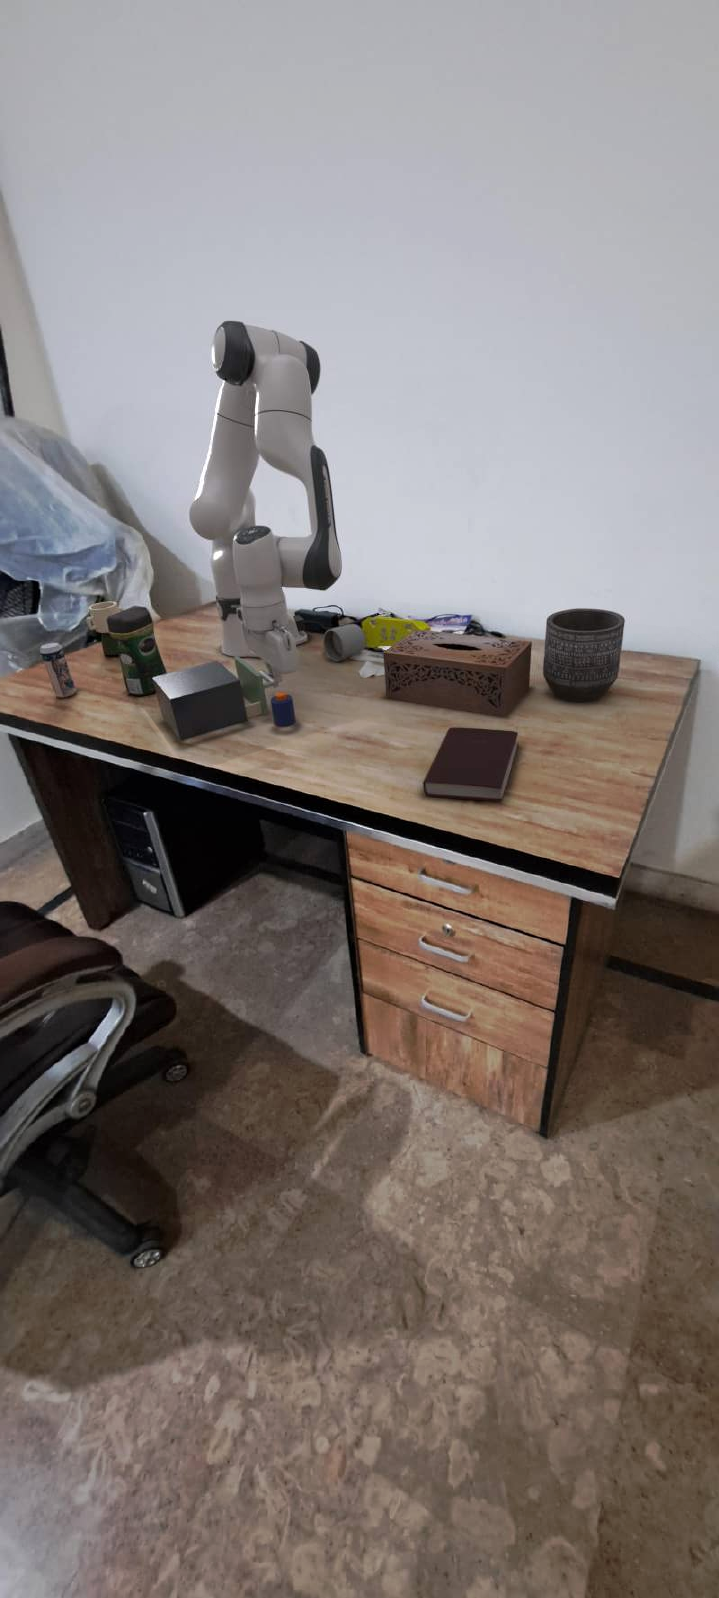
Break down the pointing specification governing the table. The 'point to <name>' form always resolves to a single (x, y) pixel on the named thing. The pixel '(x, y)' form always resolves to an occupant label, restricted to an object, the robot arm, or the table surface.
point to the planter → (582, 653)
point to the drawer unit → (200, 699)
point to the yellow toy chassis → (389, 630)
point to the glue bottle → (283, 709)
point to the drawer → (253, 688)
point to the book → (472, 764)
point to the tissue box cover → (458, 671)
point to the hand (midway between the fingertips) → (276, 680)
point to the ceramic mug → (344, 641)
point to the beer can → (58, 669)
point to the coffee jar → (136, 649)
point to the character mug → (103, 623)
